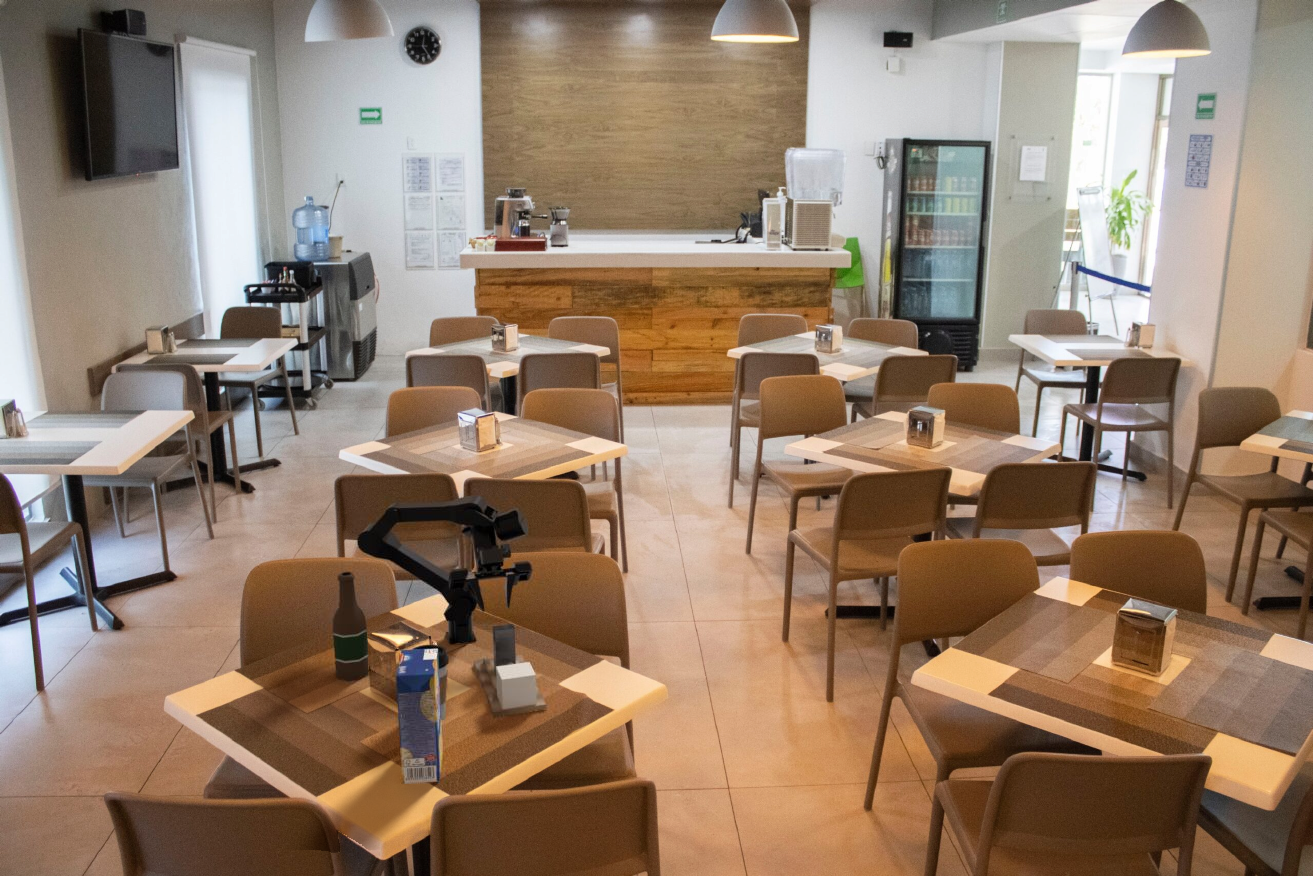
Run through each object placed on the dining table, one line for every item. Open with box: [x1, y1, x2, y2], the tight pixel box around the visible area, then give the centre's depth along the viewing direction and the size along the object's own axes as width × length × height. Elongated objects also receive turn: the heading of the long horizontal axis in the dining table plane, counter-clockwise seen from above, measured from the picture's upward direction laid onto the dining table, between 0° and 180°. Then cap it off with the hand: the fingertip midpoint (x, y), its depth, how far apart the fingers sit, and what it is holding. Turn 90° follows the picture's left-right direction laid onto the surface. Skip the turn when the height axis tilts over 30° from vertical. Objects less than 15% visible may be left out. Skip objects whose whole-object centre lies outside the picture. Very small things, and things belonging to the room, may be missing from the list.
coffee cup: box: [411, 644, 450, 721], centre depth 229 cm, size 8×8×15 cm
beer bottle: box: [332, 571, 370, 682], centre depth 246 cm, size 8×8×24 cm
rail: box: [473, 654, 547, 718], centre depth 243 cm, size 25×11×3 cm, turn 19°
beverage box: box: [395, 648, 444, 785], centre depth 209 cm, size 7×11×22 cm, turn 7°
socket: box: [496, 661, 537, 709], centre depth 235 cm, size 6×7×7 cm
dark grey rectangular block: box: [492, 623, 517, 675], centre depth 242 cm, size 10×4×11 cm, turn 19°
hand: (496, 609), depth 252 cm, fingers open, 5 cm apart
